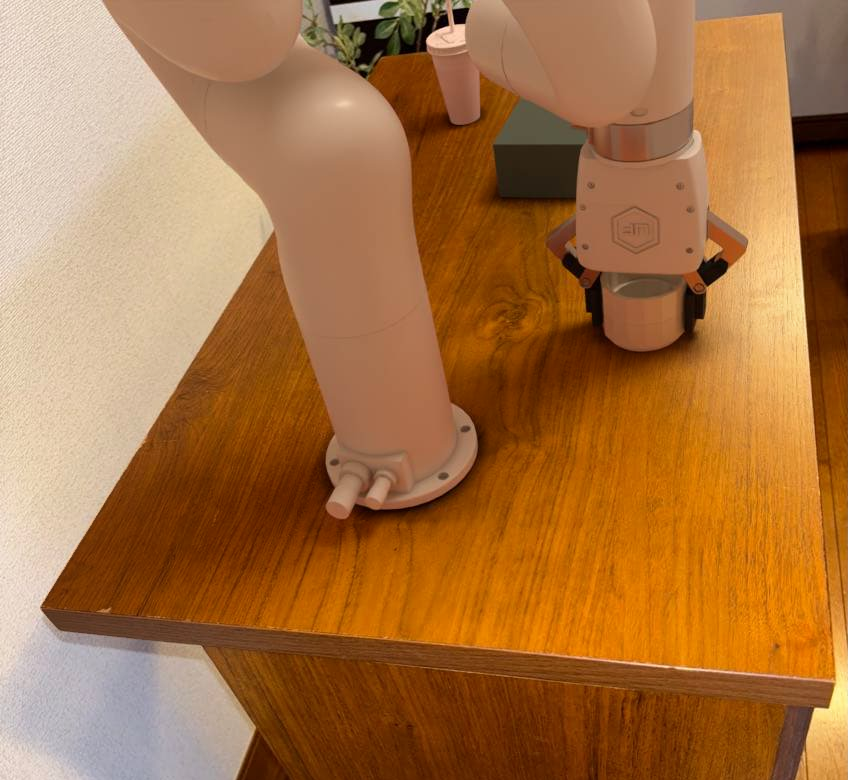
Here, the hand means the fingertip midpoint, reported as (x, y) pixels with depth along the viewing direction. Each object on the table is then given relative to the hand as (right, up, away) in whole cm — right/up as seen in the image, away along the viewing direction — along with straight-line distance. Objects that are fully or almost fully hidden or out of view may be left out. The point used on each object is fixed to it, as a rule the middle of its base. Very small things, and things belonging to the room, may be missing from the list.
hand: (645, 319), depth 86 cm
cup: (0, -1, +1) cm, 1 cm away
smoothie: (-14, +32, +34) cm, 49 cm away
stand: (-5, +21, +21) cm, 30 cm away
